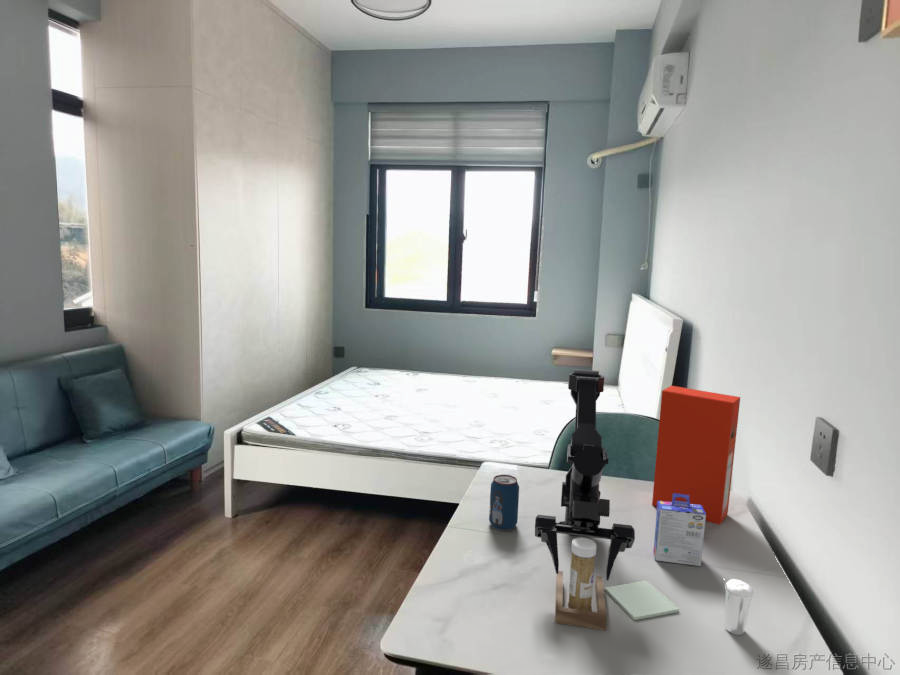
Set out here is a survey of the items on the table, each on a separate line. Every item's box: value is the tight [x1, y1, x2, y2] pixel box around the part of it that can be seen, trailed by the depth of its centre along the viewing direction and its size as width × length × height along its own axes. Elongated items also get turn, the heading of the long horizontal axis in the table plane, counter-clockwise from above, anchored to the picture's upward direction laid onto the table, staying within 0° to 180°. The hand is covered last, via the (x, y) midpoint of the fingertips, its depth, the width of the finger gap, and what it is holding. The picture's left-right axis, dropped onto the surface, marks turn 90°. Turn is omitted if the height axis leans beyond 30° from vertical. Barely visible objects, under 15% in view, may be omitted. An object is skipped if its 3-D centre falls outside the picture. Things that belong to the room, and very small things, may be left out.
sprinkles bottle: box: [567, 536, 597, 612], centre depth 112 cm, size 5×5×14 cm
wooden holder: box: [554, 570, 608, 631], centre depth 114 cm, size 14×9×2 cm, turn 169°
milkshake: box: [723, 578, 754, 636], centre depth 107 cm, size 5×5×10 cm
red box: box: [651, 385, 741, 526], centre depth 155 cm, size 8×17×32 cm, turn 52°
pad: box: [603, 580, 680, 621], centre depth 116 cm, size 10×10×1 cm
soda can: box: [488, 474, 520, 532], centre depth 144 cm, size 7×7×12 cm
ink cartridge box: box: [652, 493, 707, 567], centre depth 132 cm, size 10×6×14 cm, turn 78°
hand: (582, 576), depth 111 cm, fingers open, 9 cm apart
